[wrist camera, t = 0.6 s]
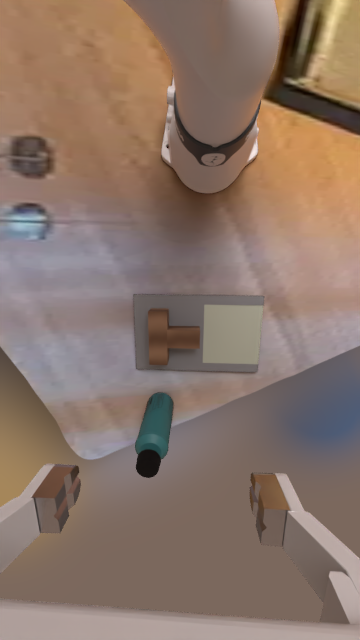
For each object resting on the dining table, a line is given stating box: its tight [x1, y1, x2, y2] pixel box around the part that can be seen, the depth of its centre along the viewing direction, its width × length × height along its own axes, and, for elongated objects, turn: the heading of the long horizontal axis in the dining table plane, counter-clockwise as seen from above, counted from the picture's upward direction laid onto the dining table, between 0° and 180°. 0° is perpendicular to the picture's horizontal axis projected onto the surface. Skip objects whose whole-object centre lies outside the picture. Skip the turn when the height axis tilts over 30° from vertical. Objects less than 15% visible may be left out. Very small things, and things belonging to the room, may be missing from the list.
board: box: [133, 294, 264, 372], centre depth 50 cm, size 18×29×1 cm, turn 90°
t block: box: [148, 308, 200, 365], centre depth 48 cm, size 12×11×4 cm
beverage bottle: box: [135, 393, 174, 478], centre depth 46 cm, size 6×7×20 cm
